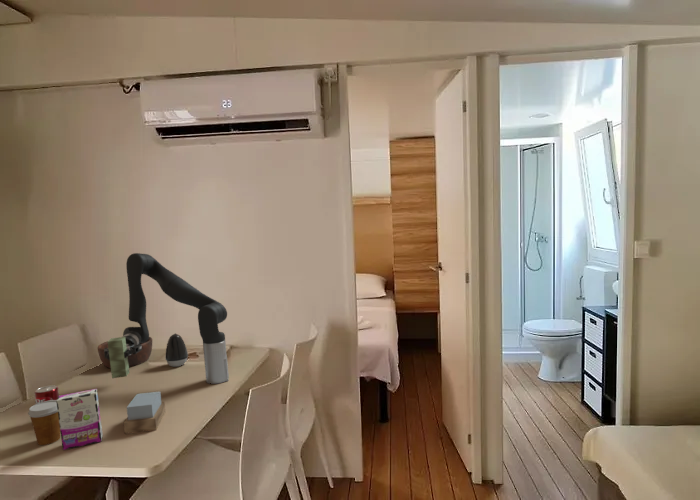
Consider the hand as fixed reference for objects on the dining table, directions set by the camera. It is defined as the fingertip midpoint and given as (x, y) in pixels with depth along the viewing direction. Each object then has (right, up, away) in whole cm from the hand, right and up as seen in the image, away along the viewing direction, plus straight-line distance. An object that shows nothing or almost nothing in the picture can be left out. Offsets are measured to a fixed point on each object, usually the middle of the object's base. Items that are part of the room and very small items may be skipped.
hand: (117, 356), depth 179 cm
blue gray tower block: (+16, -17, -12) cm, 26 cm away
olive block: (0, -8, +3) cm, 8 cm away
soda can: (-22, -23, -5) cm, 32 cm away
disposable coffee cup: (-12, -23, -21) cm, 34 cm away
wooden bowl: (-25, -17, +62) cm, 69 cm away
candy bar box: (+1, -23, -25) cm, 34 cm away
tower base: (+16, -21, -12) cm, 29 cm away
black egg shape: (+4, -16, +52) cm, 54 cm away
